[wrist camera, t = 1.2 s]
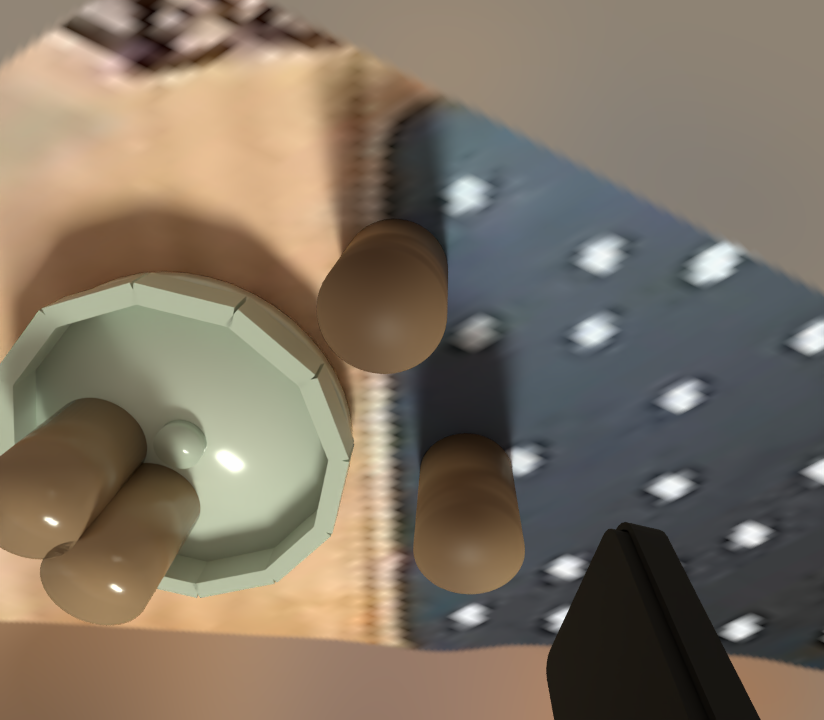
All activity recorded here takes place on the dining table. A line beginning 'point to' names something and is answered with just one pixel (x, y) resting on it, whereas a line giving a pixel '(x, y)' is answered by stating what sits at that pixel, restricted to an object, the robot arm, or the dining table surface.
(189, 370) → the tray
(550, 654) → the robot arm
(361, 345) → the bead
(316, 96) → the dining table surface
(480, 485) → the bead
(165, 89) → the dining table surface
